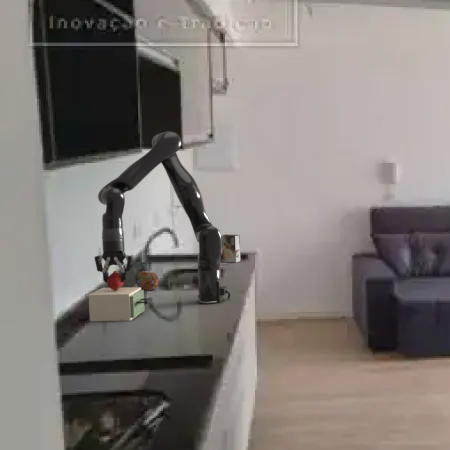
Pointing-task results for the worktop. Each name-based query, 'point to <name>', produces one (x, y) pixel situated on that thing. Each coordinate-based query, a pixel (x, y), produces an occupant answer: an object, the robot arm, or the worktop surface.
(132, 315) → the green drawer
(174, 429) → the worktop surface
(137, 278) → the tin
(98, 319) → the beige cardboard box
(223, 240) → the coffee box
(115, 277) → the onion
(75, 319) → the worktop surface
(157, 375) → the worktop surface
